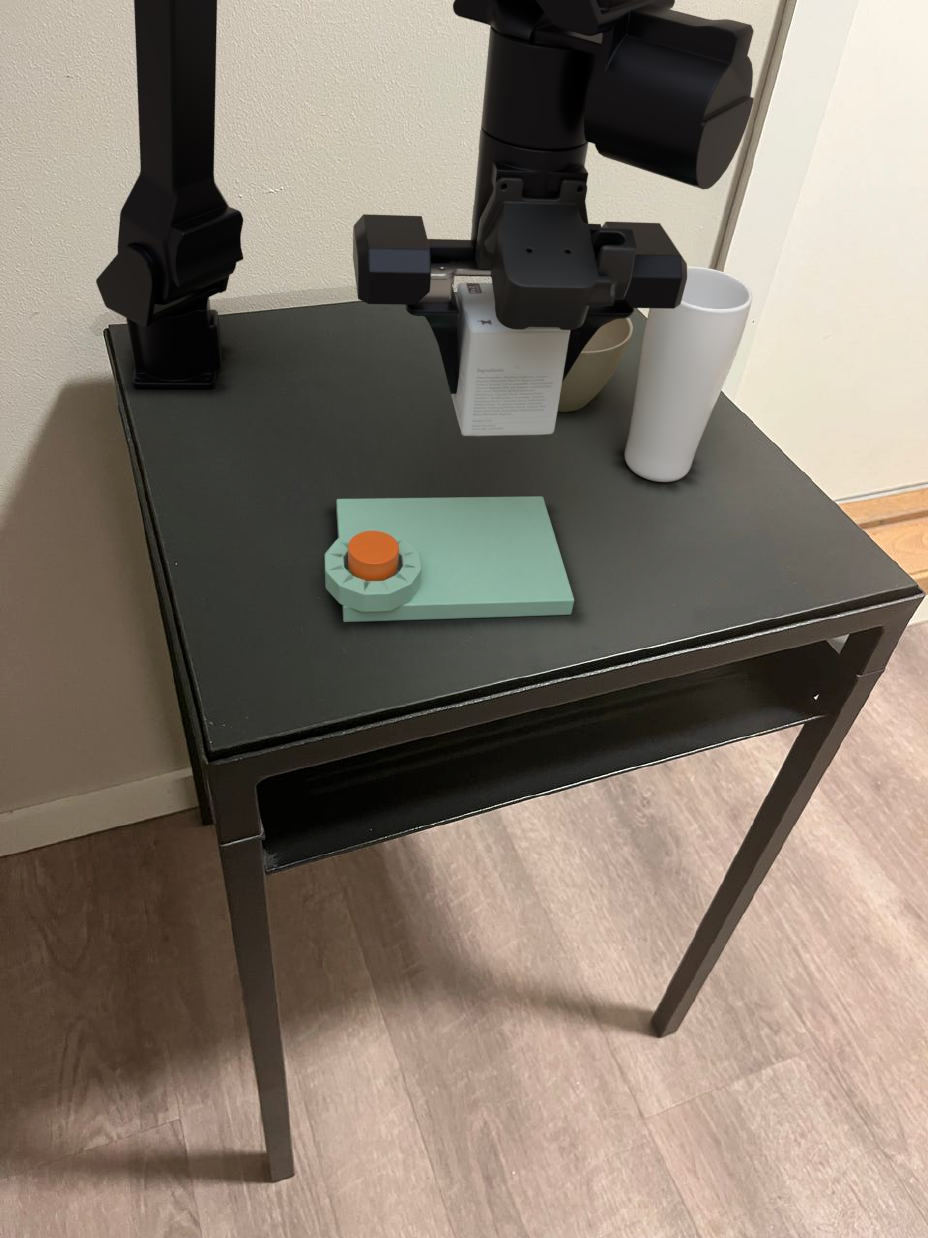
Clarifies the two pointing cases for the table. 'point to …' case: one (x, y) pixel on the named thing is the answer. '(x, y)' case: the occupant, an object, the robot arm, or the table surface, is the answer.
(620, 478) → the table surface
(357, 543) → the button
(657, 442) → the drinking glass
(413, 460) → the table surface
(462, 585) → the scale
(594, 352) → the flower pot
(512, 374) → the white cardboard box
